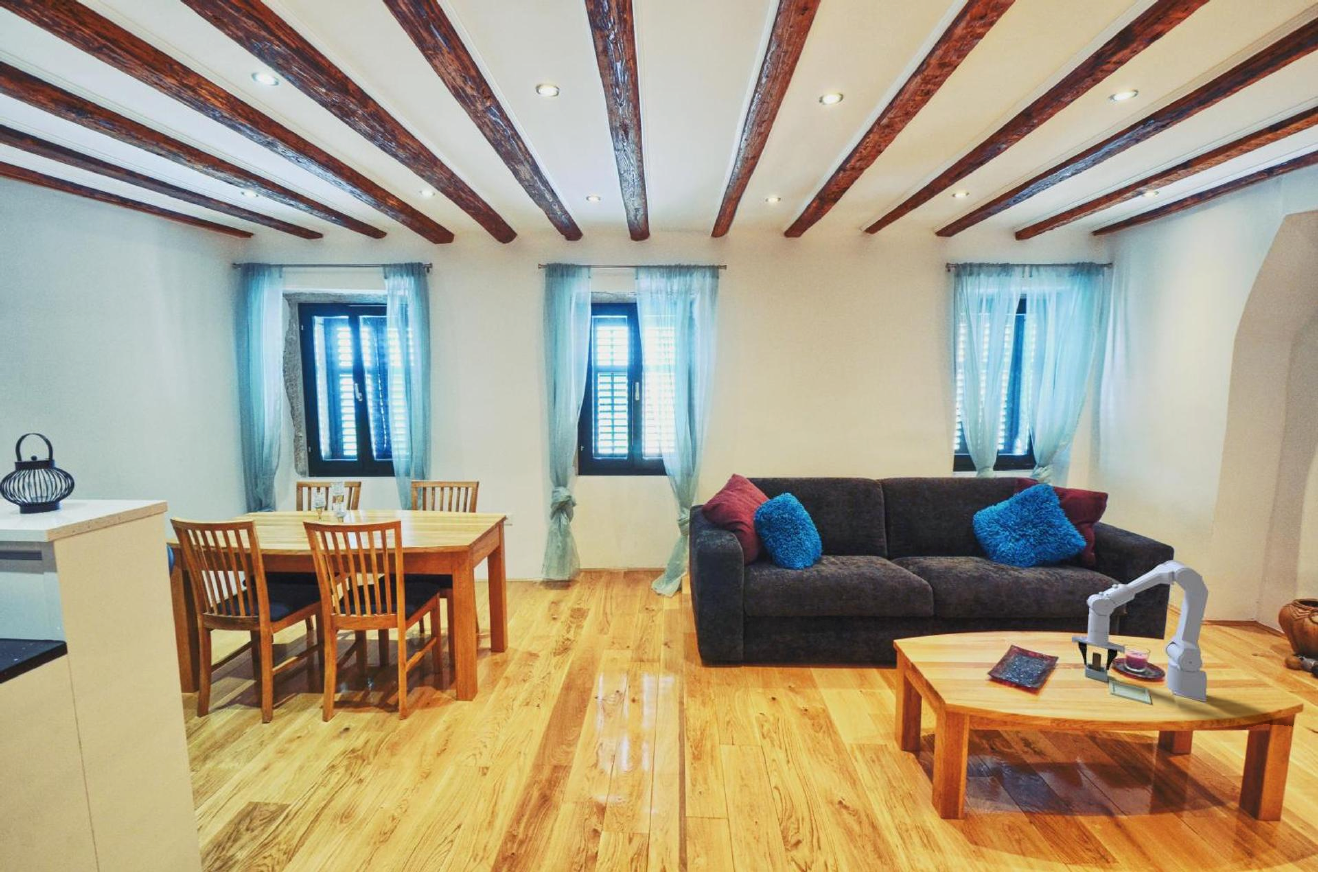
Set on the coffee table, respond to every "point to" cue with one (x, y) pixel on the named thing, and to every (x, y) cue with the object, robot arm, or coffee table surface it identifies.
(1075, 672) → the coffee table surface
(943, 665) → the coffee table surface
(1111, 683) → the tray
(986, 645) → the coffee table surface
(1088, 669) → the grey open box
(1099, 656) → the dowel
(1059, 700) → the coffee table surface
